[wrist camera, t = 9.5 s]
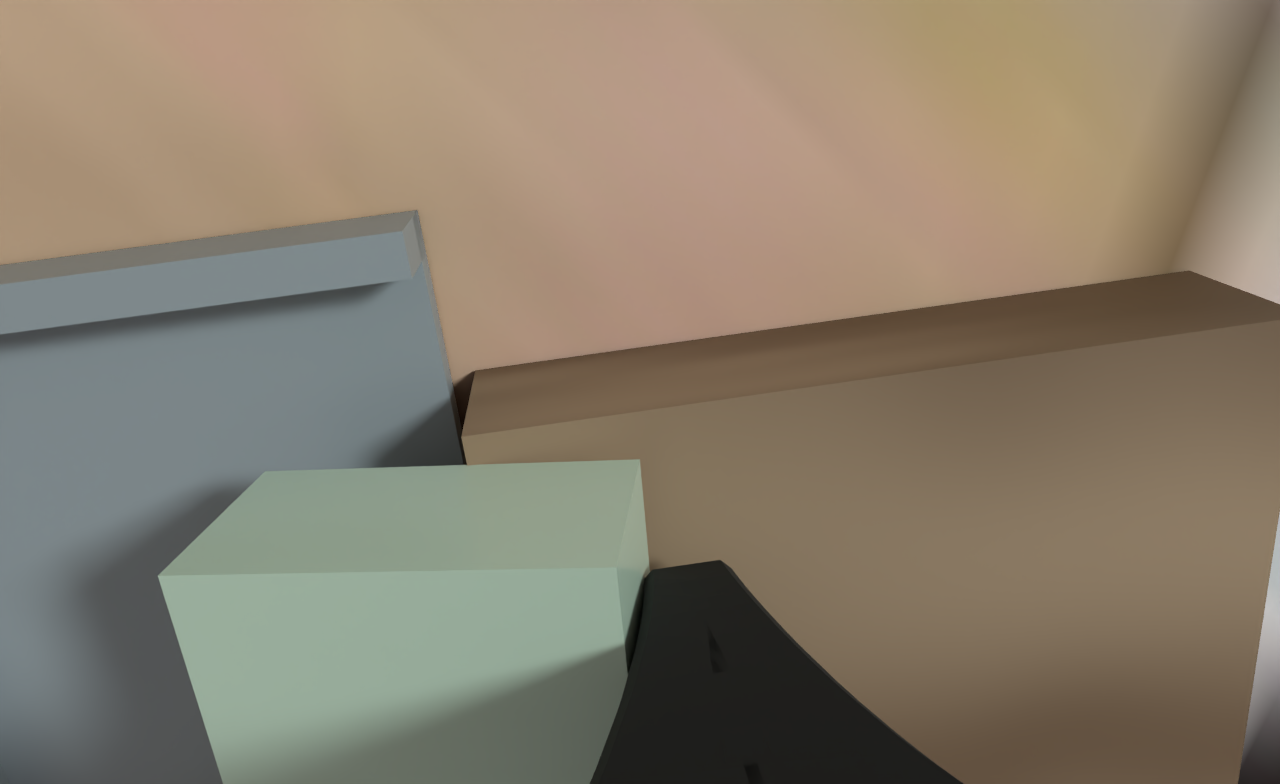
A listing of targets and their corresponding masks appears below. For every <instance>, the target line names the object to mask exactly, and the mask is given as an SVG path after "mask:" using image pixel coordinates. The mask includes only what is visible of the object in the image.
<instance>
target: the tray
mask: <svg viewBox="0 0 1280 784" xmlns="http://www.w3.org/2000/svg"><path fill="white" fill-rule="evenodd" d="M461 436H462V428H461V423H460V418H459V413H458V408H457V403H456V398H455V393H454V388H453V383H452V378H451V374H450V369H449V364H448V359H447V354H446V349H445V344H444V339H443V334H442V329H441V324H440V319H439V314H438V309H437V305H436V300H435V295H434V290H433V285H432V280H431V275H430V270H429V265H428V260H427V255H426V250H425V245H424V240H423V236H422V231H421V226H420V221H419V216H418V211H417V210H415V211H407V212H400V213H392V214H385V215H377V216H369V217H362V218H354V219H347V220H339V221H332V222H324V223H316V224H309V225H301V226H294V227H286V228H279V229H271V230H263V231H256V232H248V233H241V234H233V235H226V236H218V237H210V238H203V239H195V240H188V241H180V242H173V243H165V244H157V245H150V246H142V247H135V248H127V249H120V250H112V251H104V252H97V253H89V254H82V255H74V256H67V257H59V258H51V259H44V260H36V261H29V262H21V263H14V264H6V265H0V784H223V782H222V779H221V775H220V772H219V769H218V766H217V763H216V760H215V756H214V753H213V750H212V747H211V744H210V741H209V737H208V734H207V731H206V728H205V725H204V721H203V718H202V715H201V712H200V709H199V706H198V702H197V699H196V696H195V693H194V690H193V686H192V683H191V680H190V677H189V674H188V671H187V667H186V664H185V661H184V658H183V655H182V652H181V648H180V645H179V642H178V639H177V636H176V632H175V629H174V626H173V623H172V620H171V617H170V613H169V610H168V607H167V604H166V601H165V598H164V594H163V591H162V588H161V585H160V582H159V578H158V575H159V574H160V573H161V572H162V571H163V570H164V569H165V568H166V567H167V566H168V565H169V564H170V563H171V562H172V561H173V560H174V559H176V558H177V557H178V556H179V555H180V554H181V553H182V552H183V551H184V550H185V549H186V548H187V547H188V546H189V545H190V544H191V543H192V542H193V541H194V540H195V539H196V538H197V537H198V536H199V535H200V534H201V533H202V532H203V531H204V530H205V529H206V528H207V527H208V526H209V525H210V524H211V523H212V522H214V521H215V520H216V519H217V518H218V517H219V516H220V515H221V514H222V513H223V512H224V511H225V510H226V509H227V508H228V507H229V506H230V505H231V504H232V503H233V502H234V501H235V500H236V499H237V498H238V497H239V496H240V495H241V494H242V493H243V492H244V491H245V490H246V489H247V488H248V487H249V486H251V485H252V484H253V483H254V482H255V481H256V480H257V479H258V478H259V477H260V476H261V475H262V474H263V473H264V472H265V471H291V470H322V469H354V468H385V467H416V466H447V465H467V462H466V457H465V453H464V448H463V443H462V438H461Z"/></svg>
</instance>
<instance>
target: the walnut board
mask: <svg viewBox="0 0 1280 784" xmlns="http://www.w3.org/2000/svg"><path fill="white" fill-rule="evenodd" d="M461 438H462V443H463V448H464V453H465V457H466V462H467V466H469V465H479V464H510V463H541V462H573V461H604V460H635V459H640V467H641V478H642V489H643V500H644V511H645V522H646V533H647V545H648V556H649V567H650V572H651V571H652V570H653V569H660V568H667V567H674V566H681V565H688V564H694V563H701V562H708V561H715V560H721V561H723V562H724V563H725V564H727V565H728V566H729V567H731V568H732V569H733V571H734V572H735V573H736V575H737V576H738V577H739V579H740V580H741V581H742V582H743V583H744V585H745V586H746V587H747V588H748V590H749V591H750V592H751V593H752V594H753V595H754V597H755V598H756V599H757V600H758V601H759V602H760V603H761V605H762V606H763V607H764V608H765V609H766V610H767V611H768V612H769V613H770V615H771V616H772V617H773V618H774V619H775V620H776V621H777V622H778V623H779V624H780V625H781V626H782V628H783V629H784V630H785V631H786V632H787V633H788V634H789V635H790V636H791V637H792V638H793V639H794V640H795V641H796V642H797V643H798V644H799V645H800V646H801V647H802V648H803V649H804V650H805V651H806V652H807V653H808V654H809V655H810V656H811V657H812V658H813V659H815V660H816V661H817V662H818V663H819V664H820V665H821V666H822V667H823V668H824V669H825V670H826V671H827V672H828V673H829V674H830V675H831V676H832V677H833V678H834V679H835V680H836V681H837V682H839V683H840V684H841V685H842V686H843V687H844V688H845V689H846V690H847V691H848V692H850V693H851V694H852V695H853V696H854V697H855V698H856V699H857V700H858V701H860V702H861V703H862V704H863V705H864V706H865V707H867V708H868V709H869V710H870V711H871V712H873V713H874V714H875V715H876V716H877V717H878V718H880V719H881V720H882V721H883V722H884V723H886V724H887V725H888V726H889V727H890V728H891V729H893V730H894V731H895V732H896V733H898V734H899V735H900V736H901V737H903V738H904V739H905V740H906V741H908V742H909V743H910V744H911V745H913V746H914V747H915V748H916V749H918V750H919V751H920V752H922V753H923V754H924V755H925V756H927V757H928V758H929V759H931V760H932V761H933V762H935V763H936V764H937V765H939V766H940V767H941V768H943V769H944V770H945V771H947V772H948V773H950V774H951V775H952V776H954V777H955V778H957V779H958V780H959V781H961V782H962V783H964V784H1238V778H1239V772H1240V765H1241V759H1242V752H1243V746H1244V739H1245V733H1246V726H1247V720H1248V713H1249V707H1250V700H1251V694H1252V687H1253V681H1254V674H1255V668H1256V661H1257V655H1258V648H1259V642H1260V635H1261V629H1262V622H1263V615H1264V609H1265V602H1266V596H1267V589H1268V583H1269V576H1270V570H1271V563H1272V557H1273V550H1274V544H1275V537H1276V531H1277V524H1278V518H1279V511H1280V304H1277V303H1274V302H1272V301H1269V300H1266V299H1264V298H1261V297H1258V296H1256V295H1253V294H1250V293H1248V292H1245V291H1242V290H1240V289H1237V288H1234V287H1232V286H1229V285H1226V284H1224V283H1221V282H1218V281H1216V280H1213V279H1210V278H1208V277H1205V276H1202V275H1199V274H1197V273H1194V272H1191V271H1184V272H1177V273H1170V274H1163V275H1155V276H1148V277H1141V278H1134V279H1127V280H1120V281H1113V282H1105V283H1098V284H1091V285H1084V286H1077V287H1070V288H1063V289H1055V290H1048V291H1041V292H1034V293H1027V294H1020V295H1013V296H1005V297H998V298H991V299H984V300H977V301H970V302H962V303H955V304H948V305H941V306H934V307H927V308H920V309H912V310H905V311H898V312H891V313H884V314H877V315H870V316H862V317H855V318H848V319H841V320H834V321H827V322H820V323H812V324H805V325H798V326H791V327H784V328H777V329H770V330H762V331H755V332H748V333H741V334H734V335H727V336H719V337H712V338H705V339H698V340H691V341H684V342H677V343H669V344H662V345H655V346H648V347H641V348H634V349H627V350H619V351H612V352H605V353H598V354H591V355H584V356H577V357H569V358H562V359H555V360H548V361H541V362H534V363H527V364H519V365H512V366H505V367H498V368H491V369H484V370H476V371H475V374H474V379H473V384H472V389H471V393H470V398H469V403H468V407H467V412H466V417H465V422H464V426H463V431H462V436H461Z"/></svg>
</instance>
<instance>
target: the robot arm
mask: <svg viewBox="0 0 1280 784" xmlns="http://www.w3.org/2000/svg"><path fill="white" fill-rule="evenodd" d="M643 587H644V600H643V611H642V618H641V624H640V629H639V634H638V639H637V644H636V648H635V653H634V656H633V660H632V663H631V667H630V670H629V674H628V677H627V681H626V684H625V688H624V692H623V695H622V698H621V702H620V705H619V708H618V711H617V714H616V716H615V719H614V722H613V724H612V727H611V730H610V732H609V735H608V738H607V740H606V743H605V746H604V748H603V751H602V754H601V756H600V759H599V762H598V764H597V767H596V769H595V772H594V774H593V777H592V779H591V781H590V784H964V783H962V782H961V781H959V780H958V779H957V778H955V777H954V776H952V775H951V774H950V773H948V772H947V771H945V770H944V769H943V768H941V767H940V766H939V765H937V764H936V763H935V762H933V761H932V760H931V759H929V758H928V757H927V756H925V755H924V754H923V753H922V752H920V751H919V750H918V749H916V748H915V747H914V746H913V745H911V744H910V743H909V742H908V741H906V740H905V739H904V738H903V737H901V736H900V735H899V734H898V733H896V732H895V731H894V730H893V729H891V728H890V727H889V726H888V725H887V724H886V723H884V722H883V721H882V720H881V719H880V718H878V717H877V716H876V715H875V714H874V713H873V712H871V711H870V710H869V709H868V708H867V707H865V706H864V705H863V704H862V703H861V702H860V701H858V700H857V699H856V698H855V697H854V696H853V695H852V694H851V693H850V692H848V691H847V690H846V689H845V688H844V687H843V686H842V685H841V684H840V683H839V682H837V681H836V680H835V679H834V678H833V677H832V676H831V675H830V674H829V673H828V672H827V671H826V670H825V669H824V668H823V667H822V666H821V665H820V664H819V663H818V662H817V661H816V660H815V659H813V658H812V657H811V656H810V655H809V654H808V653H807V652H806V651H805V650H804V649H803V648H802V647H801V646H800V645H799V644H798V643H797V642H796V641H795V640H794V639H793V638H792V637H791V636H790V635H789V634H788V633H787V632H786V631H785V630H784V629H783V628H782V626H781V625H780V624H779V623H778V622H777V621H776V620H775V619H774V618H773V617H772V616H771V615H770V613H769V612H768V611H767V610H766V609H765V608H764V607H763V606H762V605H761V603H760V602H759V601H758V600H757V599H756V598H755V597H754V595H753V594H752V593H751V592H750V591H749V590H748V588H747V587H746V586H745V585H744V583H743V582H742V581H741V580H740V579H739V577H738V576H737V575H736V573H735V572H734V571H733V569H732V568H731V567H729V566H728V565H727V564H725V563H724V562H723V561H721V560H715V561H708V562H701V563H694V564H688V565H681V566H674V567H667V568H660V569H653V570H652V571H651V572H650V573H649V574H648V575H647V576H646V578H645V580H644V584H643Z"/></svg>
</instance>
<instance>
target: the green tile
mask: <svg viewBox="0 0 1280 784" xmlns="http://www.w3.org/2000/svg"><path fill="white" fill-rule="evenodd" d="M649 573H650V567H649V556H648V545H647V533H646V522H645V511H644V500H643V489H642V478H641V467H640V459H635V460H604V461H573V462H541V463H510V464H479V465H469V466H467V465H447V466H416V467H385V468H354V469H322V470H291V471H265V472H264V473H263V474H262V475H261V476H260V477H259V478H258V479H257V480H256V481H255V482H254V483H253V484H252V485H251V486H249V487H248V488H247V489H246V490H245V491H244V492H243V493H242V494H241V495H240V496H239V497H238V498H237V499H236V500H235V501H234V502H233V503H232V504H231V505H230V506H229V507H228V508H227V509H226V510H225V511H224V512H223V513H222V514H221V515H220V516H219V517H218V518H217V519H216V520H215V521H214V522H212V523H211V524H210V525H209V526H208V527H207V528H206V529H205V530H204V531H203V532H202V533H201V534H200V535H199V536H198V537H197V538H196V539H195V540H194V541H193V542H192V543H191V544H190V545H189V546H188V547H187V548H186V549H185V550H184V551H183V552H182V553H181V554H180V555H179V556H178V557H177V558H176V559H174V560H173V561H172V562H171V563H170V564H169V565H168V566H167V567H166V568H165V569H164V570H163V571H162V572H161V573H160V574H159V575H158V578H159V582H160V585H161V588H162V591H163V594H164V598H165V601H166V604H167V607H168V610H169V613H170V617H171V620H172V623H173V626H174V629H175V632H176V636H177V639H178V642H179V645H180V648H181V652H182V655H183V658H184V661H185V664H186V667H187V671H188V674H189V677H190V680H191V683H192V686H193V690H194V693H195V696H196V699H197V702H198V706H199V709H200V712H201V715H202V718H203V721H204V725H205V728H206V731H207V734H208V737H209V741H210V744H211V747H212V750H213V753H214V756H215V760H216V763H217V766H218V769H219V772H220V775H221V779H222V782H223V784H590V781H591V779H592V777H593V774H594V772H595V769H596V767H597V764H598V762H599V759H600V756H601V754H602V751H603V748H604V746H605V743H606V740H607V738H608V735H609V732H610V730H611V727H612V724H613V722H614V719H615V716H616V714H617V711H618V708H619V705H620V702H621V698H622V695H623V692H624V688H625V684H626V681H627V677H628V674H629V670H630V667H631V663H632V660H633V656H634V653H635V648H636V644H637V639H638V634H639V629H640V624H641V618H642V611H643V600H644V587H643V584H644V580H645V578H646V576H647V575H648V574H649Z"/></svg>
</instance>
